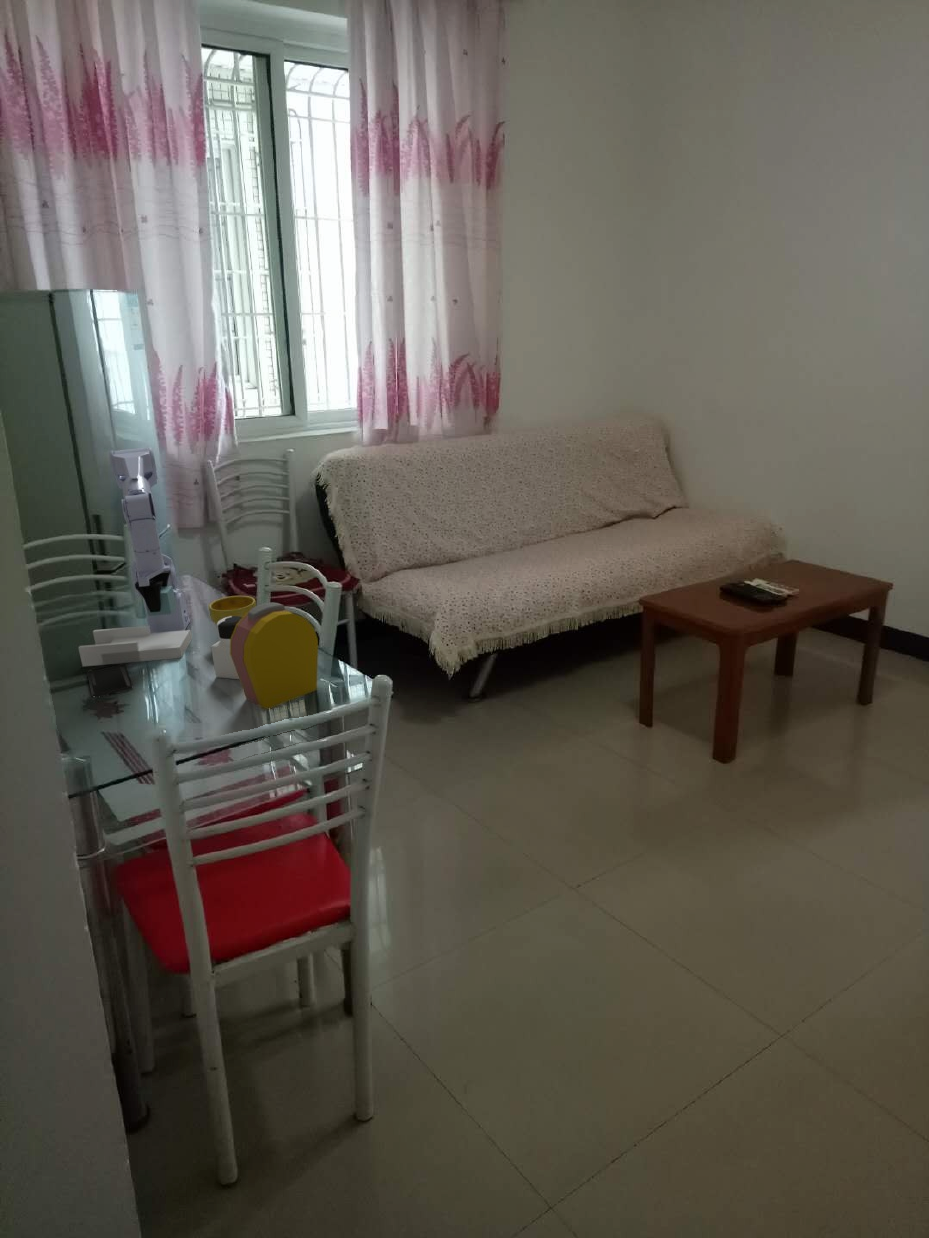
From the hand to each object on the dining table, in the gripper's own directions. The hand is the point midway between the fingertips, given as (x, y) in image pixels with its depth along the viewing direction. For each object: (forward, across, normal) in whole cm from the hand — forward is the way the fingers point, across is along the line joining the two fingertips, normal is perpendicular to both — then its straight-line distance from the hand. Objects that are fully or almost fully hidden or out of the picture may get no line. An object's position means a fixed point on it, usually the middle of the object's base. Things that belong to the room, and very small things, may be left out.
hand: (158, 607), depth 189 cm
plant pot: (+11, +1, -16) cm, 19 cm away
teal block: (+1, 0, -1) cm, 1 cm away
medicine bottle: (+11, -17, -19) cm, 28 cm away
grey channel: (+10, 0, +6) cm, 12 cm away
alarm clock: (+11, -30, -29) cm, 43 cm away
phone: (+11, -16, +8) cm, 21 cm away
